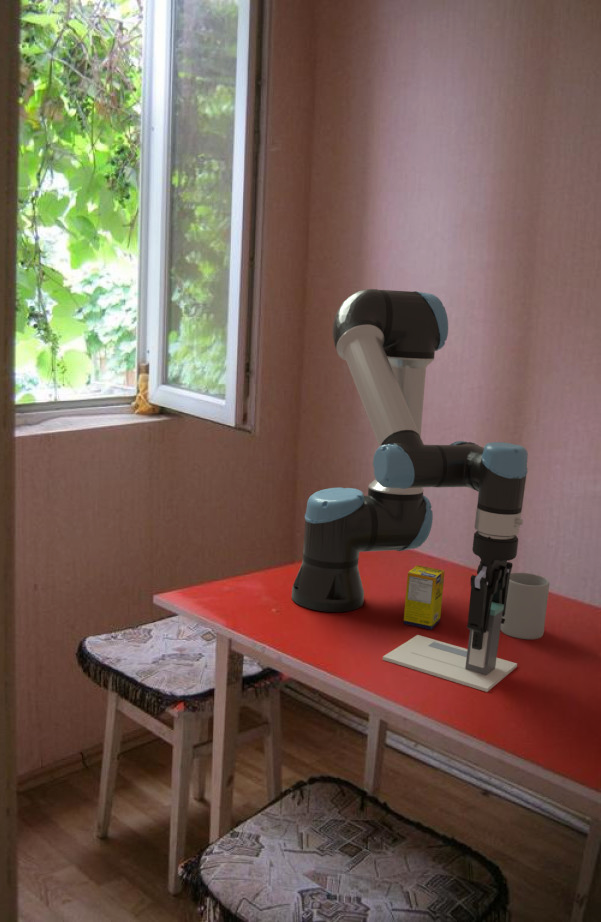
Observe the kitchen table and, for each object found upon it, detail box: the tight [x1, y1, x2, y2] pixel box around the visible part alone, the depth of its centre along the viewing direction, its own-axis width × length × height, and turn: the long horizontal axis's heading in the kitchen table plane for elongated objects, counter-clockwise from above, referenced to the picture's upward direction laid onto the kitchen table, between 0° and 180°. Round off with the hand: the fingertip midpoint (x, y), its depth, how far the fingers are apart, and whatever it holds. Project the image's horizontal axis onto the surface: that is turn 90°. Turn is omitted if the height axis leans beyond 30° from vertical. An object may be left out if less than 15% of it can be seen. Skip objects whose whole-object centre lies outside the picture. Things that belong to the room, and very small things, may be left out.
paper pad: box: [382, 634, 518, 693], centre depth 172 cm, size 20×14×1 cm
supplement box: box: [403, 564, 446, 630], centre depth 190 cm, size 6×6×11 cm
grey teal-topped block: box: [465, 602, 504, 675], centre depth 167 cm, size 4×4×12 cm
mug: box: [500, 572, 550, 640], centre depth 191 cm, size 12×8×11 cm
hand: (481, 660), depth 168 cm, fingers closed on grey teal-topped block, 4 cm apart
